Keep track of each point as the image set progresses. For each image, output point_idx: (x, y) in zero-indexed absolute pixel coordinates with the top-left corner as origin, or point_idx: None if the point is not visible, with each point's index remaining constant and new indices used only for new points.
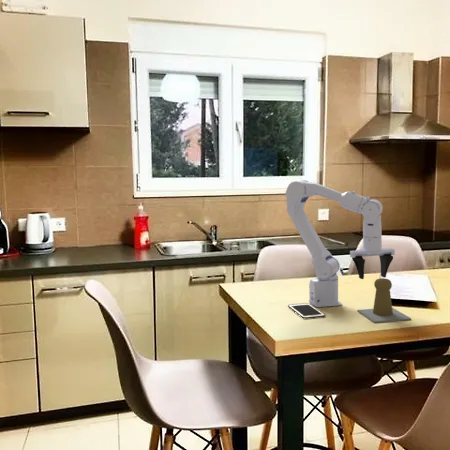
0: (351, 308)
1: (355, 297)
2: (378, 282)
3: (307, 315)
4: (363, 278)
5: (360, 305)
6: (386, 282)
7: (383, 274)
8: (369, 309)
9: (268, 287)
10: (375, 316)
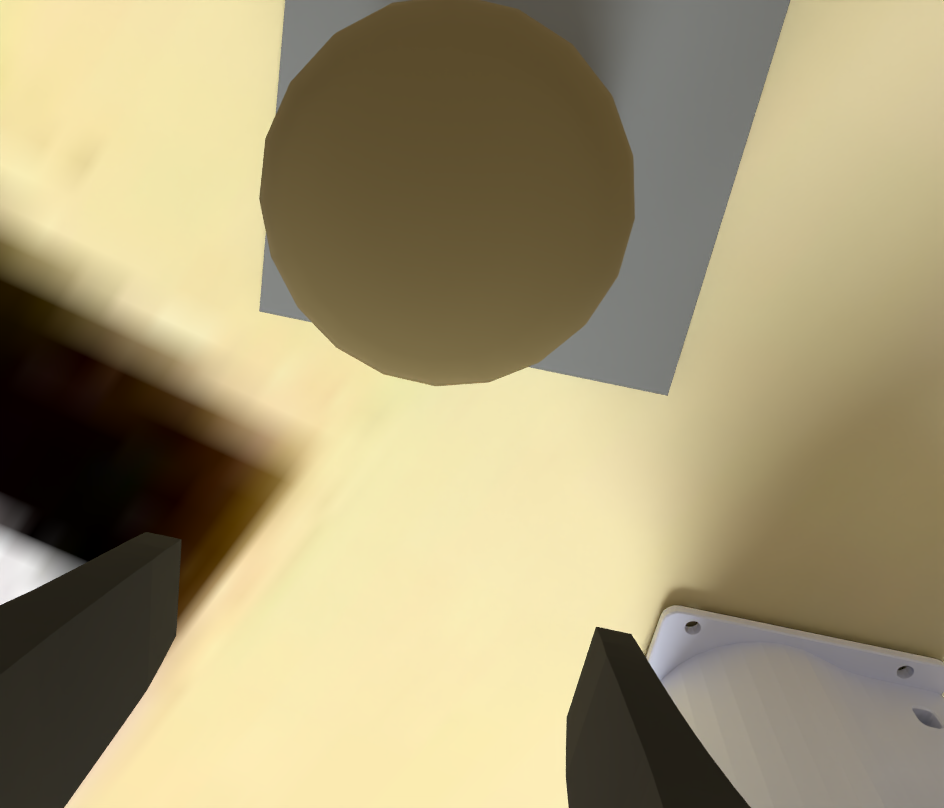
0: (645, 497)
1: (380, 742)
2: (615, 159)
3: None
4: (601, 633)
5: (495, 536)
6: (471, 18)
7: (152, 589)
8: None
9: None
10: (654, 91)
